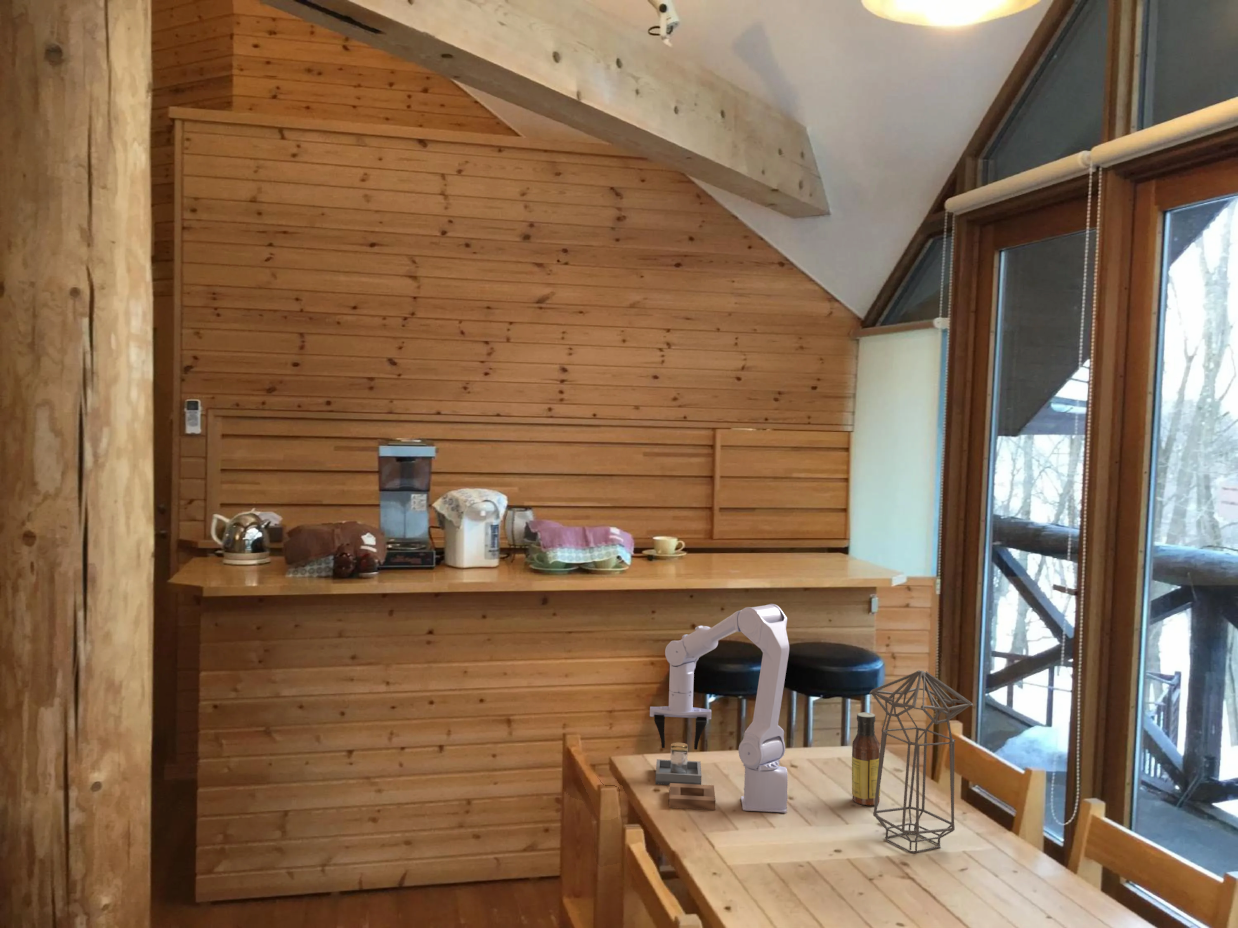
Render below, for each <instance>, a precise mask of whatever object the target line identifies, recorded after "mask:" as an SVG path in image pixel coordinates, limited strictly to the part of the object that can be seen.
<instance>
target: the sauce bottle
mask: <svg viewBox="0 0 1238 928" xmlns="http://www.w3.org/2000/svg"><path fill="white" fill-rule="evenodd" d="M856 720H857V731H856V732H857V734H856V735H855V737H854V739H853V741H852V746H851V747H852V748H851V749H852V752H851V795H852V800H853V802H854V803H856V804H858V805H862V806H868V807H869V806H874V804H875V795H876V785H877V775H878V765H879V755H880V746H881V743H880V742H879V740H878V738H877V736H876V734H875V733H876V732H875V725H876V724H875V723H876V714H875V713H872V712H871V713H870V712H865V711H864V712H858V713H856ZM880 796H881V789H880V790H879V798H878V804H880V801H881V799H880V798H881V797H880Z"/></svg>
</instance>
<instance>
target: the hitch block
mask: <svg viewBox="0 0 1238 928" xmlns="http://www.w3.org/2000/svg"><path fill="white" fill-rule="evenodd" d="M668 798H669V799H668V800H669V801H668V805H669V806H668V808H669V807H670V809H673V808H676V809H688V810H689V809H692V810H708V811H709V810H710V811H716V802H717V801H716V791H715V785H714V784H713V785H712V784H711V785H710V784H701V785H698V784H678V783H670V785H669V797H668Z"/></svg>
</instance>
